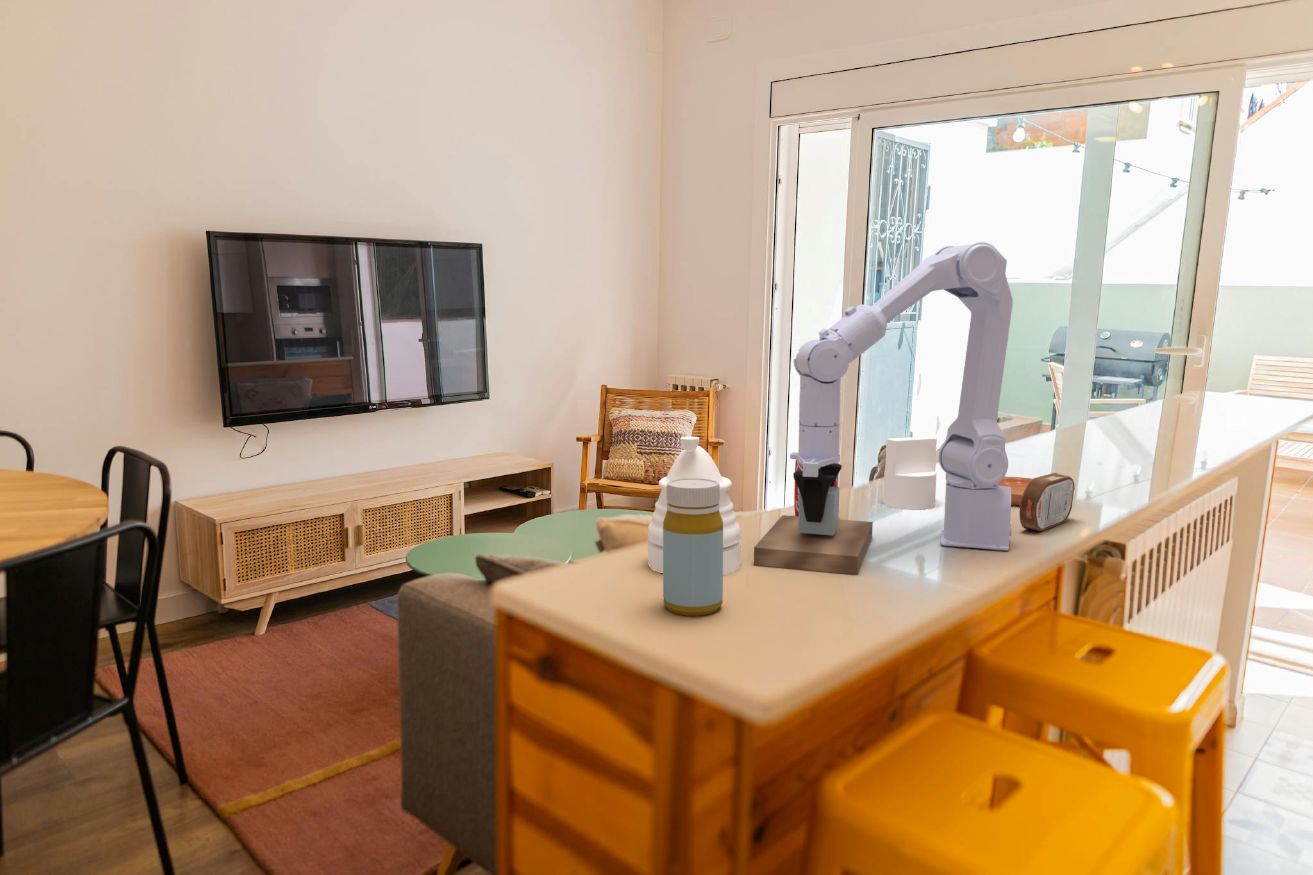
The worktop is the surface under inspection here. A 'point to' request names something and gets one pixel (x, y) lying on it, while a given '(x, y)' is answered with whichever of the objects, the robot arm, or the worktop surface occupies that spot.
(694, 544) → the bottle
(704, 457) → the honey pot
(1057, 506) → the tin
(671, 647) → the worktop surface
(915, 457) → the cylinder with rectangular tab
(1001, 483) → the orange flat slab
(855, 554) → the plinth
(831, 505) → the block
